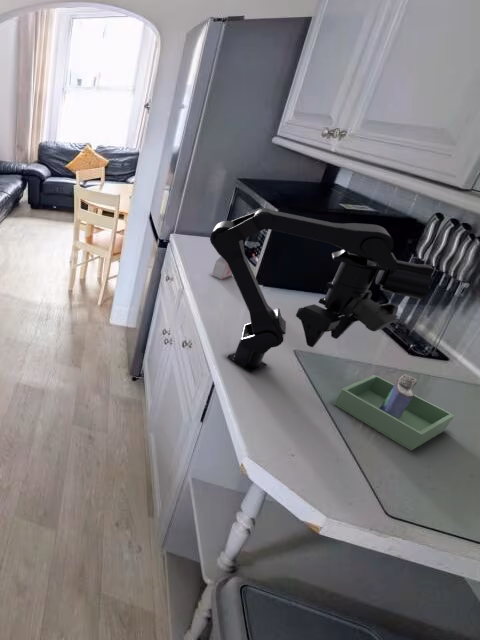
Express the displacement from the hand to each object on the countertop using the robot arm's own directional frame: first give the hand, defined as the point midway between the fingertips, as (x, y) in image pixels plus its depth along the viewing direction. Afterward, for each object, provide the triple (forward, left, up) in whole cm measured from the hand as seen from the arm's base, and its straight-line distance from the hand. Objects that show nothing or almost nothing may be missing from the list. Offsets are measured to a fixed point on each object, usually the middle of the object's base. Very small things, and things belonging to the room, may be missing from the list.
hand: (322, 341), depth 91 cm
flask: (+5, -14, -12) cm, 19 cm away
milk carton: (+35, +48, -12) cm, 61 cm away
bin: (+5, -14, -12) cm, 19 cm away
